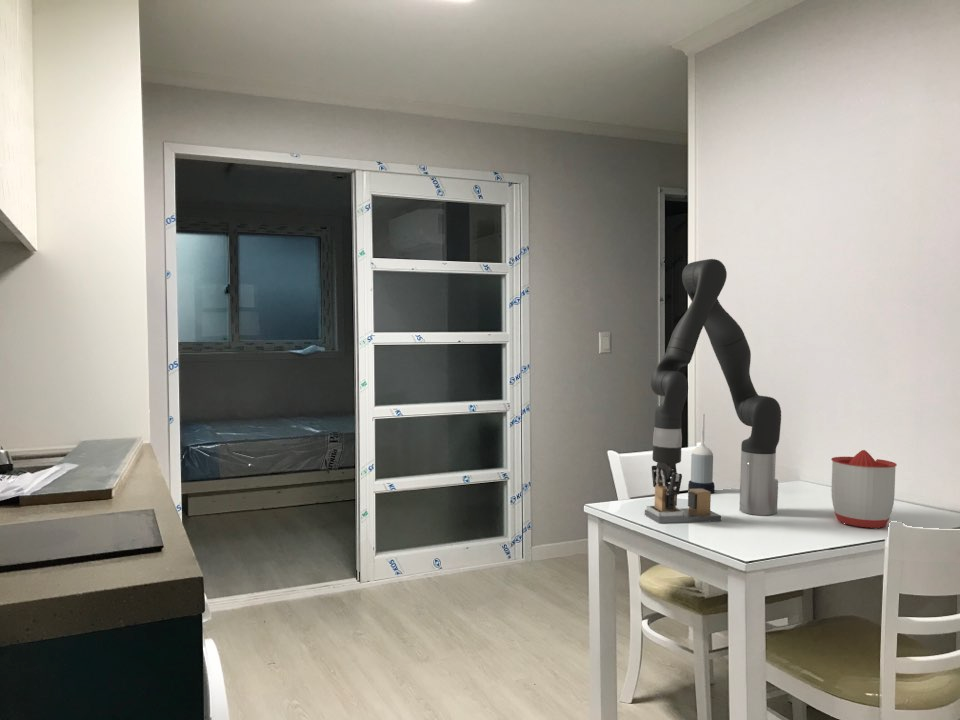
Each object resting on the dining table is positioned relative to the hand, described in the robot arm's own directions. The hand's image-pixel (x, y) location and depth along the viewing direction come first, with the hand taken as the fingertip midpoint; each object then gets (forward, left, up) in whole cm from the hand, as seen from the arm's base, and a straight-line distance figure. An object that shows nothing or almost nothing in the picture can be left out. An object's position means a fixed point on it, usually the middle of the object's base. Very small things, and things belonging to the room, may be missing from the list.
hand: (665, 506), depth 196 cm
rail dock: (-5, 0, -3) cm, 6 cm away
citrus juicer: (-52, +11, -4) cm, 53 cm away
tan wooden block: (0, 0, -1) cm, 1 cm away
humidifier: (-28, -32, -4) cm, 43 cm away
